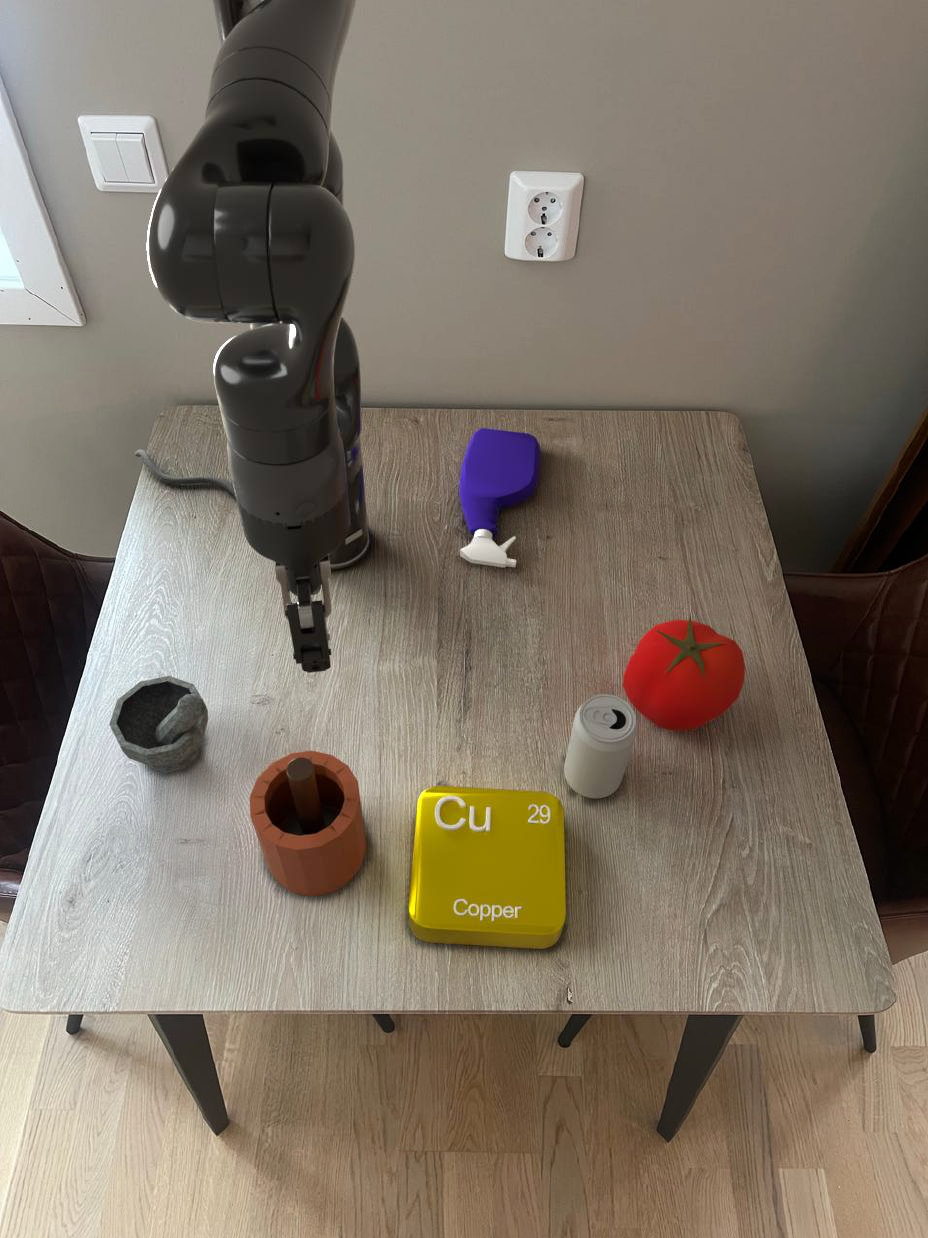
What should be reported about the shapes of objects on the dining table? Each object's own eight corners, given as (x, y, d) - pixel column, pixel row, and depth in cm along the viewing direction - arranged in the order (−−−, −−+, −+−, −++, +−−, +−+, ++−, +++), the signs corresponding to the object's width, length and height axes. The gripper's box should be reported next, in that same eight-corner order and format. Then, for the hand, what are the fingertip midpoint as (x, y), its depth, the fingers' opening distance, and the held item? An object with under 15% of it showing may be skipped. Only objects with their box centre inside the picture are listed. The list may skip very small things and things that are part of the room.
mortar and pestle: (109, 768, 101) (76, 708, 91) (156, 701, 106) (129, 637, 97) (200, 802, 98) (176, 744, 89) (243, 731, 104) (224, 670, 95)
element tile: (407, 942, 90) (406, 924, 86) (419, 802, 99) (418, 781, 95) (561, 951, 90) (567, 934, 86) (559, 810, 99) (564, 789, 95)
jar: (245, 859, 95) (226, 809, 86) (311, 786, 100) (299, 733, 91) (322, 916, 91) (310, 870, 83) (385, 837, 97) (381, 787, 88)
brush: (278, 851, 95) (254, 775, 82) (314, 810, 98) (296, 731, 85) (320, 881, 93) (302, 808, 80) (355, 839, 96) (344, 762, 83)
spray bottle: (469, 424, 133) (442, 550, 118) (545, 433, 132) (527, 561, 118) (468, 440, 135) (442, 565, 121) (543, 448, 135) (525, 576, 120)
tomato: (607, 662, 111) (623, 601, 102) (716, 656, 112) (741, 595, 103) (628, 751, 104) (646, 694, 95) (744, 743, 105) (773, 686, 96)
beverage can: (618, 807, 99) (637, 750, 90) (558, 795, 100) (572, 737, 91) (623, 756, 103) (642, 696, 94) (566, 745, 104) (580, 685, 95)
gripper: (232, 413, 66) (263, 562, 79) (234, 564, 57) (269, 704, 70) (338, 405, 67) (352, 554, 80) (355, 553, 58) (368, 692, 71)
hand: (313, 624), depth 75 cm, fingers open, 8 cm apart
